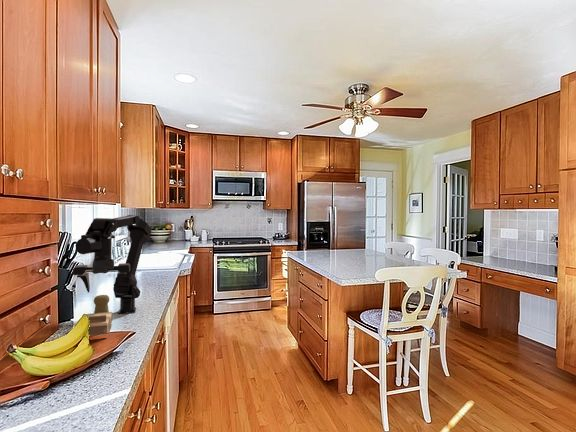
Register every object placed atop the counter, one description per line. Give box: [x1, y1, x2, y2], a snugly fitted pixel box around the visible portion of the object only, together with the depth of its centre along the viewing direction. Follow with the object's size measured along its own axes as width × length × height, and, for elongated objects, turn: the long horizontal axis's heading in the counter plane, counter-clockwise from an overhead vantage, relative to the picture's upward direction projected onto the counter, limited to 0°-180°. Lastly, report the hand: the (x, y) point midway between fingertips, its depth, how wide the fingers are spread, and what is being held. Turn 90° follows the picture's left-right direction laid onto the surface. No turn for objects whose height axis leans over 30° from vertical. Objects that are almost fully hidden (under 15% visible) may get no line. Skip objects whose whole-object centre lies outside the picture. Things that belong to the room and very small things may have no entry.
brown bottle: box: [93, 294, 110, 313], centre depth 122 cm, size 6×6×11 cm
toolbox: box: [89, 315, 113, 337], centre depth 113 cm, size 12×8×4 cm, turn 22°
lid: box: [86, 311, 113, 327], centre depth 113 cm, size 12×8×3 cm, turn 22°
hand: (102, 291), depth 122 cm, fingers open, 9 cm apart
